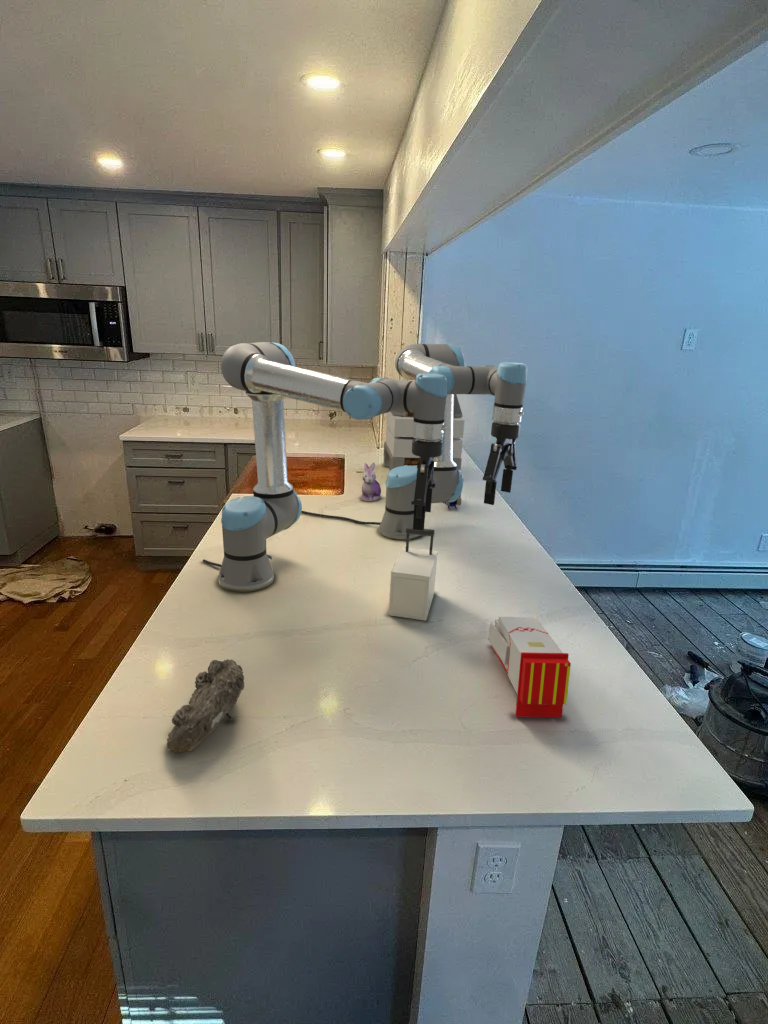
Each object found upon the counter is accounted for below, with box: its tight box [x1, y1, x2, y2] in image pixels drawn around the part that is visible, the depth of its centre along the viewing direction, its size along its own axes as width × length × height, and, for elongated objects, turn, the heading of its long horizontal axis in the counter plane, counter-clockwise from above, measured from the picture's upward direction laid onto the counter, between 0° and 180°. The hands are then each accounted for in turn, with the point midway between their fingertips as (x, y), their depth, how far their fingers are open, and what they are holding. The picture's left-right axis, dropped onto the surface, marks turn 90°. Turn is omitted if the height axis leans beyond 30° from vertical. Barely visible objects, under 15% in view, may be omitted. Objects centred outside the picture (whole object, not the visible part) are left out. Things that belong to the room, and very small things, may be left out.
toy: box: [487, 616, 572, 718], centre depth 123 cm, size 12×13×30 cm
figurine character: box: [444, 493, 462, 510], centre depth 230 cm, size 7×8×15 cm
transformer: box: [383, 394, 465, 472], centre depth 268 cm, size 34×33×41 cm
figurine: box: [360, 462, 382, 502], centre depth 233 cm, size 9×10×15 cm
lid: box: [390, 527, 439, 581], centre depth 148 cm, size 16×10×8 cm, turn 168°
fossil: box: [166, 658, 245, 754], centre depth 106 cm, size 22×10×15 cm
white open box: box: [388, 558, 438, 622], centre depth 151 cm, size 16×10×11 cm, turn 168°
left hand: (422, 520), depth 146 cm, fingers open, 13 cm apart
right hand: (497, 497), depth 159 cm, fingers open, 13 cm apart
